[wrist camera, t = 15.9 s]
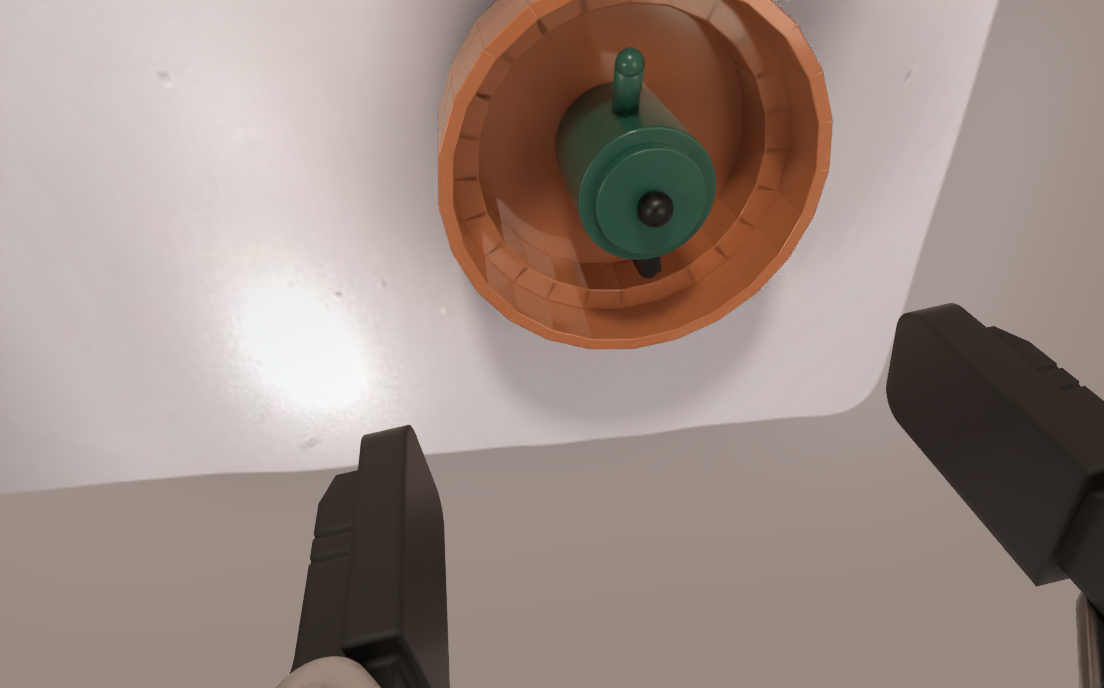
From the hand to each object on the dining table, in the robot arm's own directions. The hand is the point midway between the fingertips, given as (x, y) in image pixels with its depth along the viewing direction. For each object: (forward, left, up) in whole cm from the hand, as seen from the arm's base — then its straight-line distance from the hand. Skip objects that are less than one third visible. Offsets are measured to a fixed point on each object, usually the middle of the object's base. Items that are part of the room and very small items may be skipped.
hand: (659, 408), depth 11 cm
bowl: (+4, -4, -24) cm, 24 cm away
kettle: (+4, -4, -23) cm, 24 cm away
